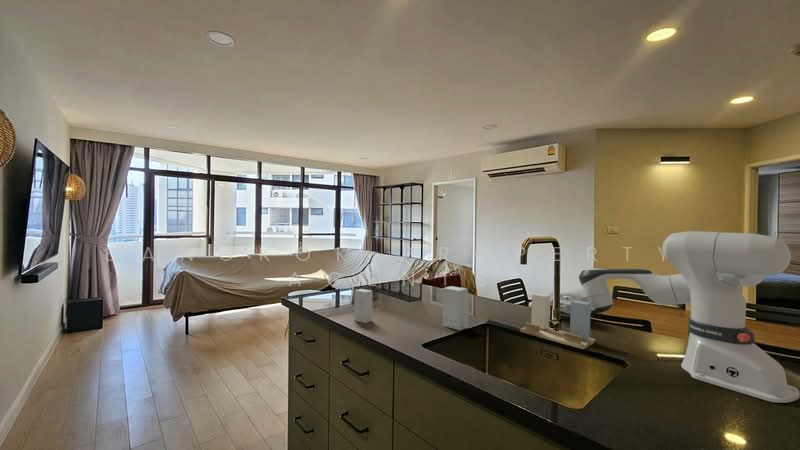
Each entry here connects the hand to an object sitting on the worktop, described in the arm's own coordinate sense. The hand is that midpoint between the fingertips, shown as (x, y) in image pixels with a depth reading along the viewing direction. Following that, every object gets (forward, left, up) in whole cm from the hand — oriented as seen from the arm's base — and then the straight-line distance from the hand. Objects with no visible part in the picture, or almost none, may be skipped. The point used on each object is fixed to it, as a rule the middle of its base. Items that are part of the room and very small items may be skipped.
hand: (556, 308), depth 139 cm
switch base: (-12, +13, -6) cm, 19 cm away
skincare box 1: (+29, +71, -6) cm, 77 cm away
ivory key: (-4, +13, -5) cm, 15 cm away
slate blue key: (-18, +9, -5) cm, 20 cm away
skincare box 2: (+10, +41, -6) cm, 43 cm away
